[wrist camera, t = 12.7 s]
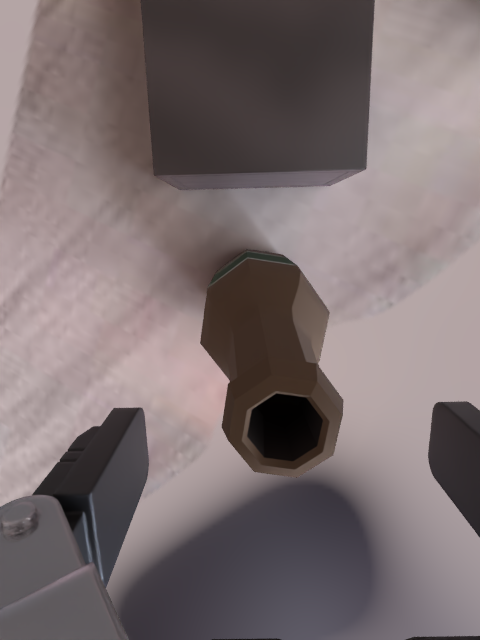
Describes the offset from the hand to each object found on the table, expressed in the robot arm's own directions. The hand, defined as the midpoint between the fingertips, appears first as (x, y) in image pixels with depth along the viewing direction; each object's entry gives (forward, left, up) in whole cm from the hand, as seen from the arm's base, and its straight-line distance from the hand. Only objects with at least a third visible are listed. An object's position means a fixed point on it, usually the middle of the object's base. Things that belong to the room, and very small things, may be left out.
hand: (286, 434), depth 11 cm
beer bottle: (0, 0, -24) cm, 24 cm away
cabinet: (-16, 0, -24) cm, 29 cm away
